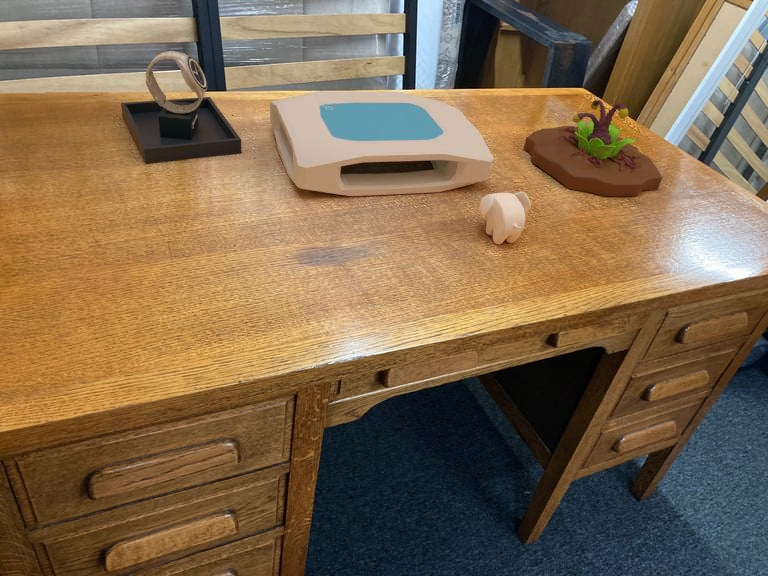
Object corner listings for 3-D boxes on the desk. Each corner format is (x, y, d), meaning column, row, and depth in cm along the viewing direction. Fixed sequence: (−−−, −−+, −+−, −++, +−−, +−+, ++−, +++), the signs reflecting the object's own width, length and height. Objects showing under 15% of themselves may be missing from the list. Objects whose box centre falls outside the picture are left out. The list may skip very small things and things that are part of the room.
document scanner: (488, 190, 90) (499, 151, 86) (297, 200, 81) (300, 156, 77) (434, 127, 105) (441, 91, 102) (268, 129, 96) (269, 89, 92)
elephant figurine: (505, 216, 85) (516, 178, 81) (535, 250, 79) (549, 210, 76) (461, 220, 83) (471, 181, 79) (489, 255, 77) (501, 214, 73)
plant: (570, 201, 91) (597, 129, 84) (508, 140, 105) (526, 75, 98) (677, 194, 98) (710, 127, 91) (605, 138, 112) (629, 76, 105)
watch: (205, 141, 89) (202, 64, 82) (147, 135, 88) (138, 57, 81) (211, 124, 94) (209, 50, 87) (156, 119, 93) (149, 43, 86)
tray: (122, 116, 93) (120, 102, 92) (210, 109, 99) (209, 96, 98) (145, 163, 83) (143, 149, 82) (241, 152, 89) (241, 139, 88)
